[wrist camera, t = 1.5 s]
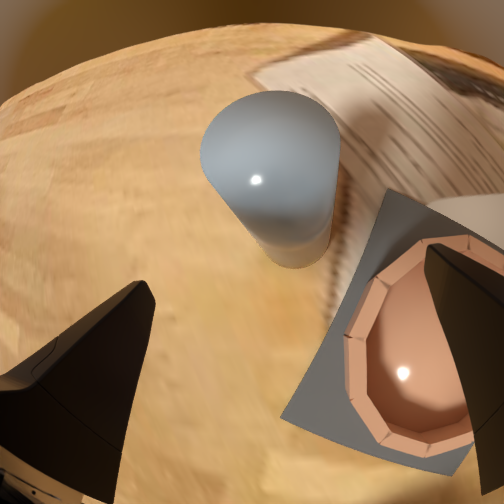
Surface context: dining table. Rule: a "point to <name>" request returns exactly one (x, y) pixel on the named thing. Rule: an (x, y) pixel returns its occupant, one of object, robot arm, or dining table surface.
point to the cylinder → (277, 172)
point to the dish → (409, 356)
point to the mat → (332, 348)
